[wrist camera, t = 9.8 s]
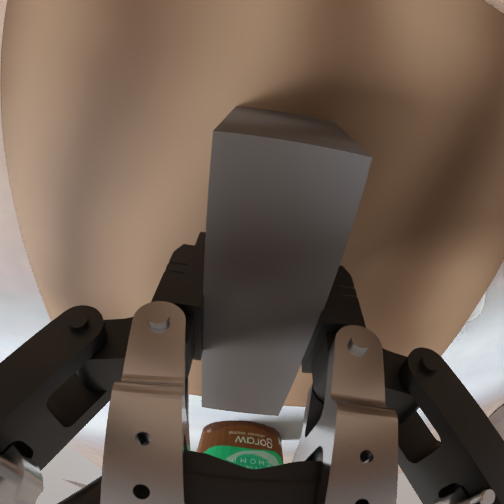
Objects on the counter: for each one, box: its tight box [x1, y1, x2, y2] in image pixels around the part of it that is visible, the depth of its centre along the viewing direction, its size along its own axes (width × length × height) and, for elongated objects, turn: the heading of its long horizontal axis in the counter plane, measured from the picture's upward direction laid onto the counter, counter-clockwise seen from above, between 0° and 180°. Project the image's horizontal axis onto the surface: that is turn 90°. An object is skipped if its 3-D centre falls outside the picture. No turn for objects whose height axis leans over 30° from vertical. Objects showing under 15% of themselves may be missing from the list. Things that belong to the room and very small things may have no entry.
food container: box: [197, 421, 283, 469], centre depth 26 cm, size 12×6×10 cm, turn 81°
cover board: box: [0, 0, 504, 416], centre depth 10 cm, size 23×23×5 cm
